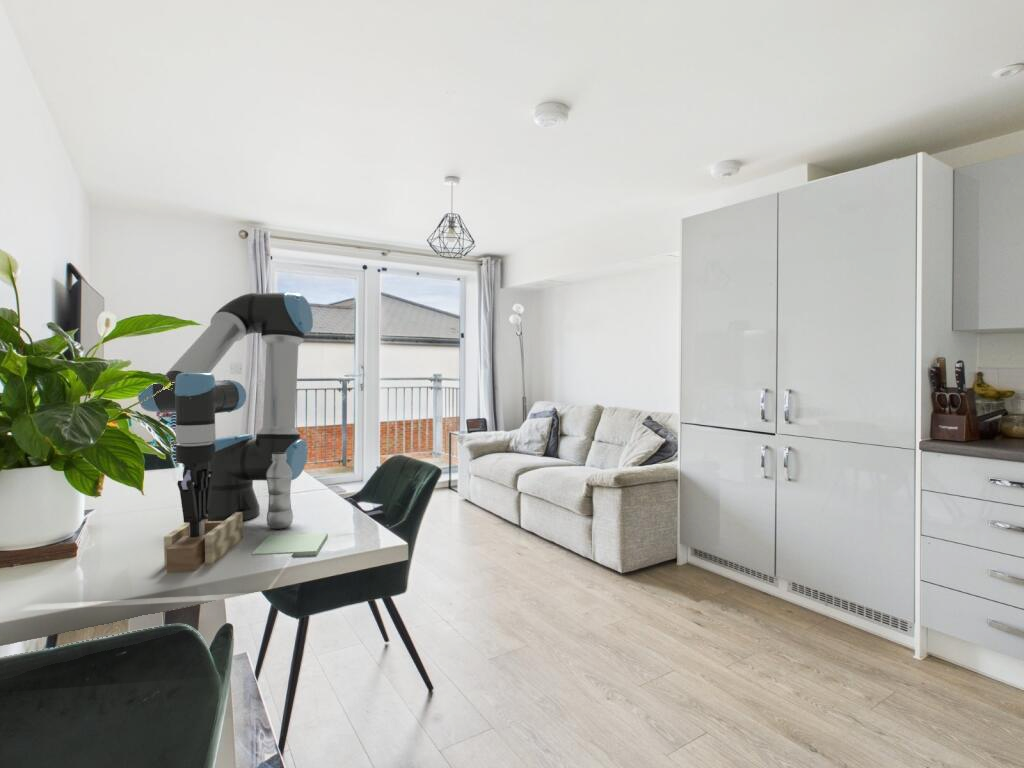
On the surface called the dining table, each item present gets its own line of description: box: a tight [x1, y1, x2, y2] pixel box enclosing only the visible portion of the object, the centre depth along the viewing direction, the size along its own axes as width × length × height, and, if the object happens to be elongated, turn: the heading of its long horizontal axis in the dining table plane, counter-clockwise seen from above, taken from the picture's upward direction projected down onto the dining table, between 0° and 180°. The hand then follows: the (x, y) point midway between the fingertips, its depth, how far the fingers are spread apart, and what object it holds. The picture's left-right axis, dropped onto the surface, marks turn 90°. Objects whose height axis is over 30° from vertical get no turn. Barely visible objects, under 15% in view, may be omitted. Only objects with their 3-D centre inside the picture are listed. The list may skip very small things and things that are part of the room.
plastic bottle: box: [266, 452, 294, 530], centre depth 147 cm, size 6×7×20 cm
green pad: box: [251, 532, 329, 557], centre depth 131 cm, size 14×14×1 cm
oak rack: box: [163, 512, 244, 567], centre depth 126 cm, size 19×10×7 cm, turn 9°
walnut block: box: [166, 535, 205, 574], centre depth 117 cm, size 8×5×5 cm, turn 8°
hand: (196, 550), depth 121 cm, fingers closed
